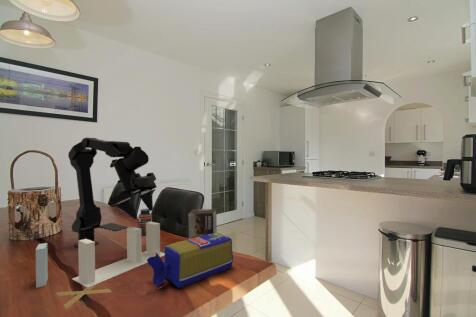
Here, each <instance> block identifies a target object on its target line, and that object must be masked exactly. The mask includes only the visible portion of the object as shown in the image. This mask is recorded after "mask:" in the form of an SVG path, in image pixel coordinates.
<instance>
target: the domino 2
mask: <svg viewBox="0 0 476 317" xmlns="http://www.w3.org/2000/svg"><path fill="white" fill-rule="evenodd" d="M77 243H78V249H77V250H78V276H79V279H80V280H81V281H83V282H85V283H87V284H89V283H91V282H94V281H95V270H96V252H95V251H96V250H95V249H96V246H95V245H96V244H95V242H94V241H91V240H88V239H83V240H79V241H78V240H77Z"/></svg>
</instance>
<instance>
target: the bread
mask: <svg viewBox="0 0 476 317" xmlns="http://www.w3.org/2000/svg"><path fill="white" fill-rule="evenodd" d="M164 253H165V255H164V261H163V260H162V257H160V256H159V255H158V254H157V253H156V256H154V257H150V258H148V259H147V262H148V263H147V264H148V265H149V266H150V267H151V268H152V269H153V270H152V271H153V276H152V283H153V284H154V285H155V286H156V287H159V286H160V285H162V284H164V283H165V278H166V279H167V280H168V281H169V282H170V283H172V284H173V285H174V286H175V287H176V288H178V289H180V288H183V287H185V286H188V285H190V284H193V283H196V282H199V281H201V280H204V279H206V278H208V277H212V276H213V275H216V274H219V273H222V272H223V271H224V272H225V271H227V270H229V269H231V267H232V266H233V262H234V256H233V240H232V238H231V237H229V236H226V235H223V234H222V233H218V232H217V233H212V234H208V235H204V236H200V237H195V238H191V239H189V238H188V239H184V240H180V241H178V242H174V243H173V242H172V243H170V244H167V245H165V246H164Z"/></svg>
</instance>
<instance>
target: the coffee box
mask: <svg viewBox="0 0 476 317" xmlns="http://www.w3.org/2000/svg"><path fill="white" fill-rule="evenodd" d="M187 216H188V239H191V238H195V237H200V236H204V235H208V234H212V233H218V229H217V226H218V225H217V224H218V222H217V220H218V218H217V209H216V208H213V209H212V208H204V209H203V208H200V209H198V208H197V209H195V208H193V209H192V210H191V211H190V212H188V215H187Z"/></svg>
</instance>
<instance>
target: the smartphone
mask: <svg viewBox="0 0 476 317" xmlns="http://www.w3.org/2000/svg"><path fill="white" fill-rule="evenodd" d="M128 227H129V226H126V225H125V226H124V225H123V224H122V225H121V224H117V223H113V222H109V223H106V224H100V229H103V228H104V229H103V230H107V229H108V230H107V231H111V230H112V232H118V231H122V229H123V230H125V229H126V228H128ZM126 230H127V229H126Z"/></svg>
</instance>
